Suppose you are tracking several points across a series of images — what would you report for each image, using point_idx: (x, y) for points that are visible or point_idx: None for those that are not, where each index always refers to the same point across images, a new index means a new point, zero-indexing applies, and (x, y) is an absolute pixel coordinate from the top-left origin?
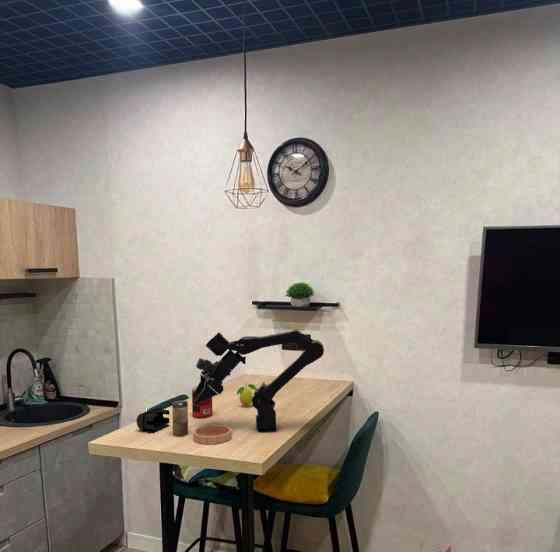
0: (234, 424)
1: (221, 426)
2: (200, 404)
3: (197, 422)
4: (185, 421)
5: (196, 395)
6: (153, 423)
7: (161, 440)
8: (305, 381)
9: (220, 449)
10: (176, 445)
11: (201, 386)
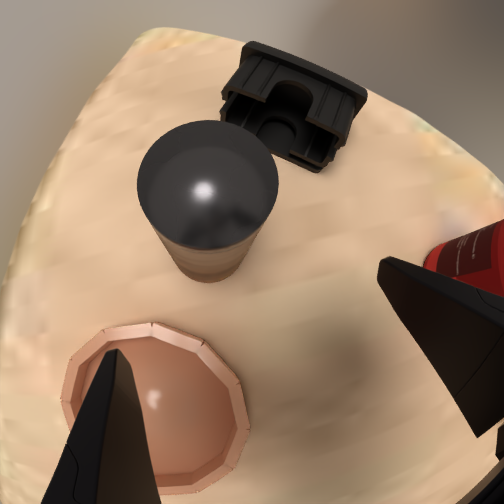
0: (347, 454)
1: (228, 450)
2: (461, 278)
3: (377, 287)
4: (181, 264)
5: (387, 295)
6: (295, 111)
7: (132, 184)
8: None
9: (45, 437)
10: (69, 262)
11: (467, 340)
